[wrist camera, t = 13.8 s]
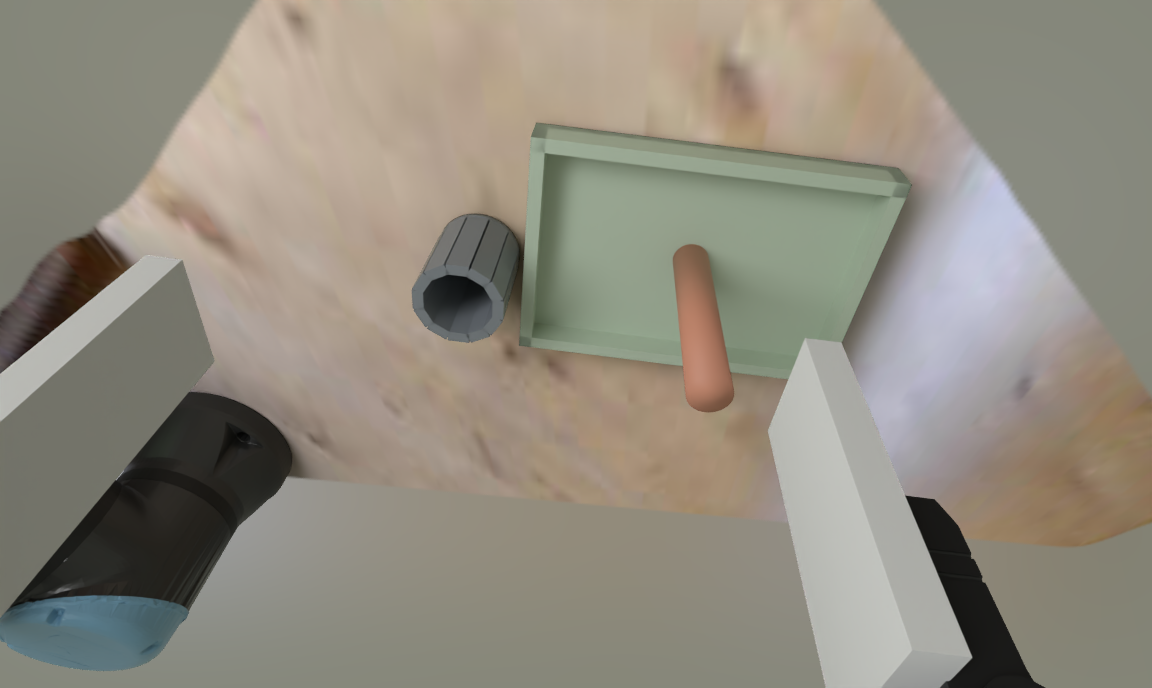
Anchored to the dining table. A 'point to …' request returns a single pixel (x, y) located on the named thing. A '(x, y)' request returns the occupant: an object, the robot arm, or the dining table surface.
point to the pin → (701, 332)
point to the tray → (706, 218)
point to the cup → (467, 279)
